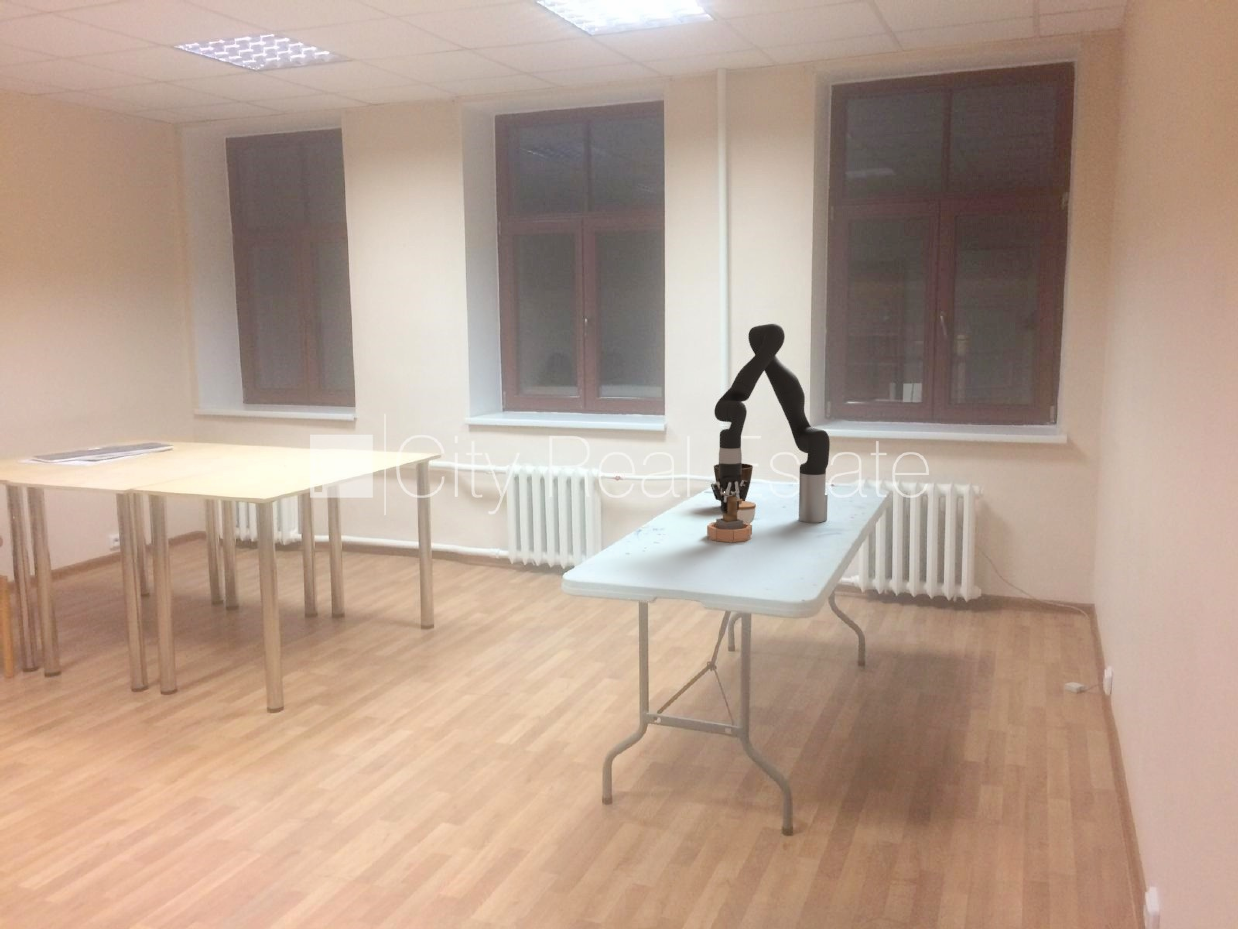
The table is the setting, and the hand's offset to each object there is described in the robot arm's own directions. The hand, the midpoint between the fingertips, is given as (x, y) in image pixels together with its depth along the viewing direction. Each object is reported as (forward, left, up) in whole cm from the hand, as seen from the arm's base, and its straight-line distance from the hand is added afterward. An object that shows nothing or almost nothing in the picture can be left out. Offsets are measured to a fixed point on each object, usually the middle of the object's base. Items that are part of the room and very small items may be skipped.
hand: (729, 511), depth 322 cm
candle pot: (0, 0, -9) cm, 9 cm away
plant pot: (-28, -43, -9) cm, 52 cm away
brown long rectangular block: (0, 0, -7) cm, 7 cm away
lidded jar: (-13, -14, -9) cm, 21 cm away
